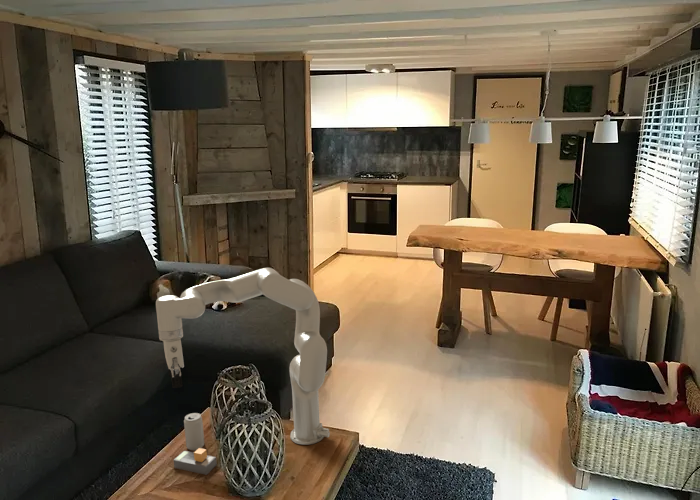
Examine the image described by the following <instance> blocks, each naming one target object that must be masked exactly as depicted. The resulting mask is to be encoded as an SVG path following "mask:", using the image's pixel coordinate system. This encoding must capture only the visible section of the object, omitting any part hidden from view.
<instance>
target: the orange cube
mask: <svg viewBox="0 0 700 500" xmlns="http://www.w3.org/2000/svg"><path fill="white" fill-rule="evenodd" d="M207 451H208V450H207V448H206V449H205V448H203V447H201V448H198V449H197V450H194V451H193V452H194V460H195V461H199V462H203V461H204V460H205V459H206V458H207V455H208V453H207Z"/></svg>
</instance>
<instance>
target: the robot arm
mask: <svg viewBox="0 0 700 500" xmlns="http://www.w3.org/2000/svg"><path fill="white" fill-rule="evenodd" d="M262 295H263V296H264V297H266V298H268V299H270V300H271V301H274V302H277V303H279V304H280V305H283V306H286V307H287V308H289V309H293V310H295V330H294V340H293V343H294V347H295V349H296V350H297V352H298V353H299V354H297V355H296V356H294V357H293V358H292V360H291V361H290V363H289V377H290V384H291V396H292V399H291V400H292V411H293V412H292V413H293V414H292V415H293V429H292V430H291V431H290V437H289V438H290V440H291V441H292V442H294V443H295V444H297V445H302V446H303V445H314V444H316V443H319V442H320V441H322V440H323V439H324V438H329V437H330V429H329V428H325V427H323V423H321V422H320V420H321V419H320V402H319V401H320V400H319V389H320V388H321V387H322V386H323V384H324V382H325V378H326V370H327V361H328V360H327V357H328V347H327V342H326V341H325V339H324V338H323V337H322V335H321V334H320V326H321V325H320V324H321V319H320V318H321V309H320V308H321V307H320V304H319V300H318V297H317V296H316V293H315V292H314V290H313V289H312V288H311V287H310V285H309V284H307V283H306V282H305V281H303V280H300V279H298V278H290V279H288V278H287V277H284V276H283V275H281V274H280V273H279V271H277V270H275V269H274V268H272V267H263V268H259V269H256V270H253V271H250V272H247V273H245V274H241V275H237V276H235V277H231V278H227V279H220V280H213V281H209V282H205V283H201V284H199V285H194V286H192V287H189V288H186V289H185V290H184V291H182V292H181V294H180V296H179V297H178V296H177V295H172V294H167V295H162V296H159V297H158V298H157V299H156V301H155V311H156V318H157V330H158V338H159V341H160V342H161V341H162V343H163V349H164V351H163V352H164V356H165V361H166V364H167V371H168V377H169V378H171V387H172V389H178V388H182V387H184V386H183V377H182V372H181V368H182V369H183V368H184V367H185V362H184V356H183V347H182V346H183V345H182V341H181V339H182V338H183V337H184V331H183V320H182V319H198V318H200V317H201V316H202V315H203V314H204V313H205V310H206V305H209V304H212V303H216V302H228V303H233V304H234V303H236V304H238V303H242V302H245V301H247V300H250V299H253V298H256V297H259V296H262Z"/></svg>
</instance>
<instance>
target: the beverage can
mask: <svg viewBox="0 0 700 500" xmlns="http://www.w3.org/2000/svg"><path fill="white" fill-rule="evenodd" d="M203 423H204V422H203V417H202V415H201V413H198V412H192V413H188V414H186V415H185V416H184V420H183V426H184V427H183V428H184V436H185V445H186V448H187V449H188V450H189V451H196V450H197V449H198V448H203V447H204V445H205V435H204V424H203Z"/></svg>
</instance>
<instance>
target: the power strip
mask: <svg viewBox="0 0 700 500" xmlns="http://www.w3.org/2000/svg"><path fill="white" fill-rule="evenodd" d="M194 452H195V451H190V450H189V451H188V450H183V451H181V452H180V454H179V455H178V456H176V457H175V458H174V459H173V467H174V469H178V470H184V471H186V472H187V471H188V472H192V473H196V474H199V475H200V474H201V475H204V476H205V475H208V474H209V473H210V472H211V471H212V470H214V468H215V467H217V465H218V464H217V457H216V456H212V455H208V454H207V458H206V459H205V460H204V461H203V462H199V461H195V460H194Z"/></svg>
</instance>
